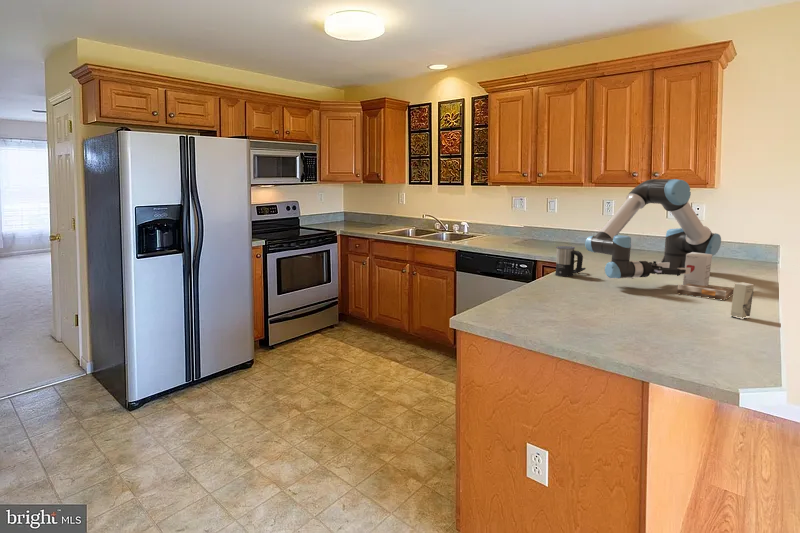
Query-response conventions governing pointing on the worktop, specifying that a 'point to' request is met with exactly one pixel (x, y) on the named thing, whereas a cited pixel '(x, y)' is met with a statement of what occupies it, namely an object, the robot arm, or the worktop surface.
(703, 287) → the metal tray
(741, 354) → the worktop surface
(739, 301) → the box
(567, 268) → the milk frother
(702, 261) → the supplement box
